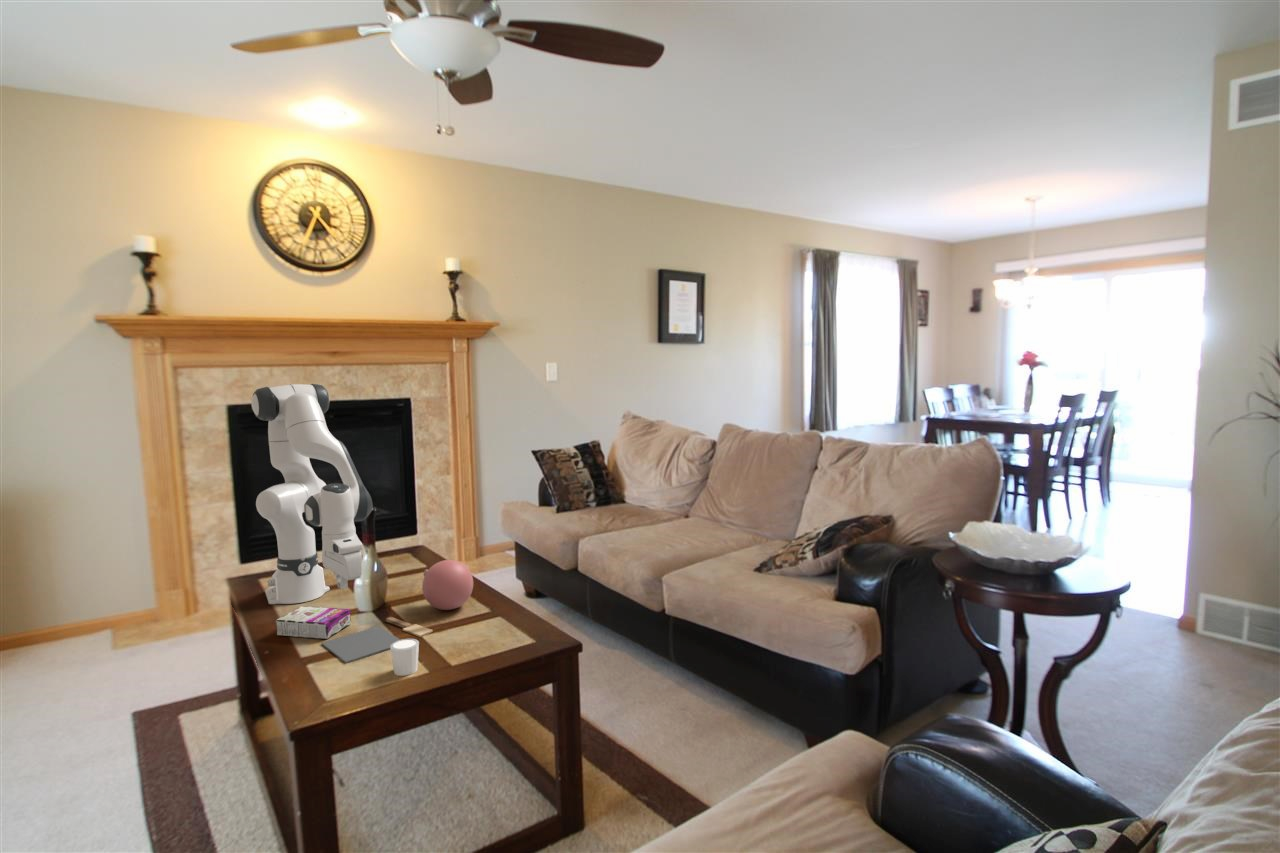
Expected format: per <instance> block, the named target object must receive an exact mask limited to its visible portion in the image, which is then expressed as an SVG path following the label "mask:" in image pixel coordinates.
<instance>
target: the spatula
mask: <svg viewBox="0 0 1280 853" xmlns="http://www.w3.org/2000/svg"><path fill="white" fill-rule="evenodd" d="M385 621H386V622H387V623H389V624H392V625H395V626H398V627H399V628H402V631H403V632H406V633H408V634H410V635H413V636H416V637H419V638H421V637H423V636H427V635H429V634H430V633H433V632H434V629H431V628H427V627H425V626H423V625H419V624H417V623H415V624H412V623H410V622H407V621H404V620H401V619H398V618H395V617H393V616H389V617H386V618H385Z"/></svg>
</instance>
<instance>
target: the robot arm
mask: <svg viewBox="0 0 1280 853" xmlns="http://www.w3.org/2000/svg"><path fill="white" fill-rule="evenodd" d="M329 408H330V395H329V392H328V390H327V388H326V387H325V386H323V385H322V384H317V383H311V384H305V383H291V384H286V385H285V384H283V385H277V386H276V385H275V386H264V387H260V388H257V389H256V390H255V391H254V392H253V393H252V398H251V410H252V411H253V413H254V416H255V418H258V419H259V420H261V421H268V425H267V427H268V428H267V435H268V436H267V437H268V446H269V456H270V463H271V465H272V467H273V468H275V469H276V470H277V471H279V472H280V473H281V474H282V476H283V478H284V483H283V482H282V483H278V484H275V485H272V486H270V487H267V488H266V489H264V490H263V491H261V492H260V493H259V494H258V495H257V497H256V501H255V507H256V511H257V512H258V514H259V515H260V516H261V517H262V518H263V519H266V520H267V521H268V522H269V523H270V524H271V526H272V528H273V530H274V532H275V536H276V542H277V550H278V552H277V554H278V557H277V560H276V568H277V569H276V570H275V572H274V573H273V574H272V576H271V578H270V579H267V587H268V588H265V596H266V599H267V602H268V605H277V604H278V605H279V604H285V605H289V604H290V605H292V604H299V603H304V602H310V601H312V600H313V601H314V600H316V599H318V598H320V597H322V596H324V594H325V593H327V592H329V591H330V590H331V589H330V586H328V585H326V582H325V576H324V569H323V567H324V568H326V569H327V570H328V571H331V572H333V574H334V577H335V580H336V583H337V584H336V585H337V588H338V589H341V590H342V591H343V590H347V589H348V587H349V586H348V585H349V584H348V583H349V582H348V581H353V580H356V579H360V578H361V577H362V574H363V556H362V553H361V552H362V550H363V543H362V541H361V540H360V538H359V537H358V535H357V533H356V532H357V531H356V530H357V529H356V526H355V522H362V521H364V520H366V519H367V518H368V517H369V515H370V514H371V513H372V510H373V505H374V503H373V499H372V496H371V494H370V493H369V491H368V490H367V488H366V486H365V485H364V482H363V481H362V478H361V477H360V475H359V473H358V470H357V468H356V466H355V463H354V462H353V460H352V458H351V455H350V453H349V451H348V449H347V447H346V445H345V443H343V442H342V441H341V440H339V439H337V438H336V437H335V436H334V435H333V434H332V433H331V432H330V431H329V428H328V426H327V422H326V419H325V418H326V417H325V414H326V413H327V411H328V410H329ZM310 459H314V460H319V461H323V462H326V463H329V464H331V465H332V466H333V467H335V469H336V470H337V471H338V475H339V476H340V479H341V481H342V483H339V482H338V483H335V482H334V483H329V484H326V482H325V481H324V480H323V479H321V478H319V477H318V475H317V474H316V473H315V471H314V469H313V467H312V463H311V461H310ZM303 513H304V517H305V521H306V522H308V523H309V524H310V525H312V526H314V527H322V530H321V541H322V543H321V544H322V547H321V548H322V549H321V551H322V552H321V556H322V557H321V561H322V562H321V563H322V565H323V567H322V566H320V565H319V555H318V552H317V549H316V548H317V547H316V534H315V530H314V528H313V527H311V526H310V525H308V524H306V522H305V521H304V517H303Z"/></svg>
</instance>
